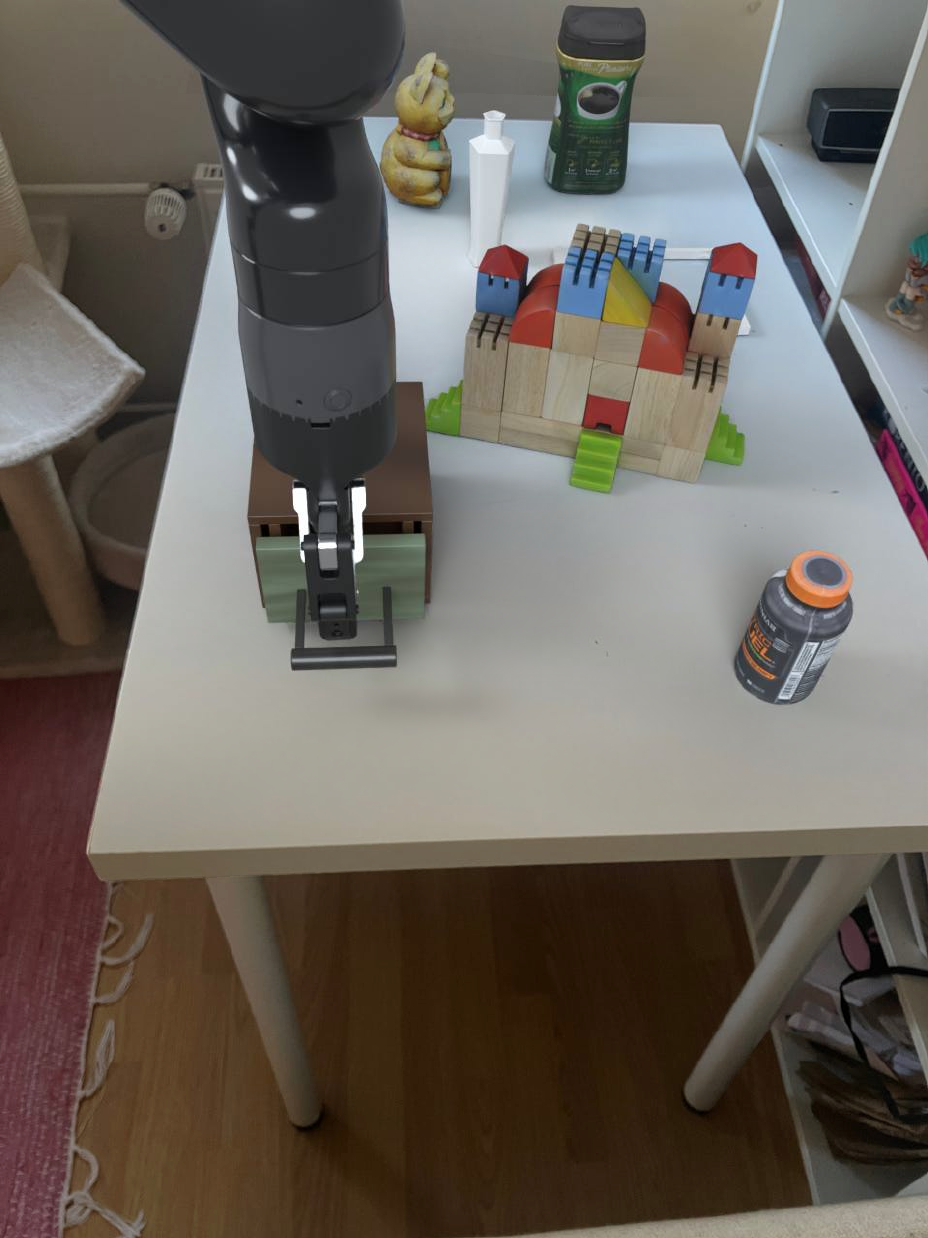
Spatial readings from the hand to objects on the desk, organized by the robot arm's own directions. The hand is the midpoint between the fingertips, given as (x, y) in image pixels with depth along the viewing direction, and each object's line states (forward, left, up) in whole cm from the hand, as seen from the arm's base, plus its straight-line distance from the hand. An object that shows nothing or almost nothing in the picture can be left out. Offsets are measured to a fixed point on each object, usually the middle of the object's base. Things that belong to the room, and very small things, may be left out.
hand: (339, 581), depth 62 cm
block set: (+21, +27, -11) cm, 36 cm away
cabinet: (0, +15, -11) cm, 18 cm away
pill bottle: (+31, 0, -11) cm, 33 cm away
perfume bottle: (+15, +56, -11) cm, 59 cm away
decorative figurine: (+8, +69, -11) cm, 70 cm away
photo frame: (+31, +49, -11) cm, 59 cm away
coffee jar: (+28, +73, -11) cm, 79 cm away
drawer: (0, +9, -10) cm, 13 cm away
